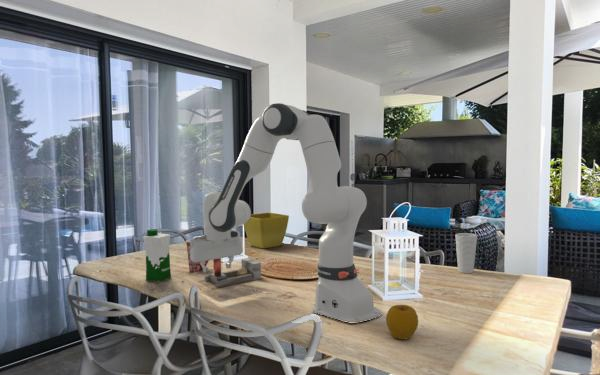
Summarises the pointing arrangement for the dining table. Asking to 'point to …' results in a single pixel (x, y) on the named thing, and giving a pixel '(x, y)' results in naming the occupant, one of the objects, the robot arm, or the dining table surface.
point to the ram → (216, 271)
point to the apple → (402, 321)
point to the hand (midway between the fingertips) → (217, 270)
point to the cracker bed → (236, 276)
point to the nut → (242, 271)
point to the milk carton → (157, 255)
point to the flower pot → (266, 229)
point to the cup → (466, 251)
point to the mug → (192, 265)
